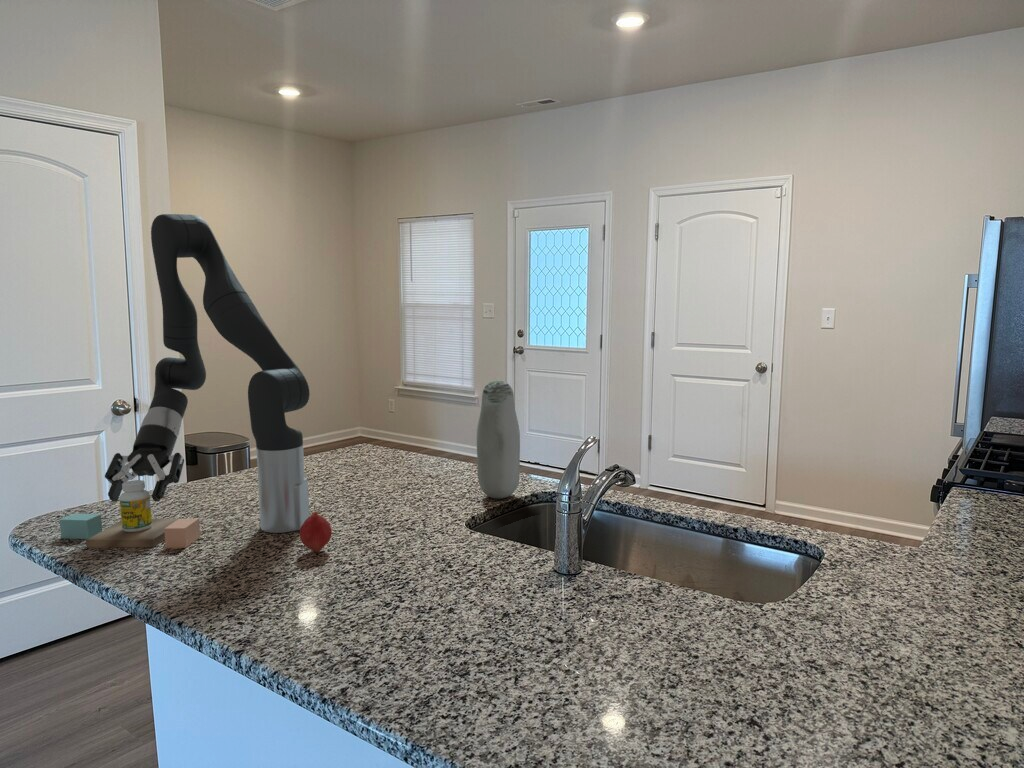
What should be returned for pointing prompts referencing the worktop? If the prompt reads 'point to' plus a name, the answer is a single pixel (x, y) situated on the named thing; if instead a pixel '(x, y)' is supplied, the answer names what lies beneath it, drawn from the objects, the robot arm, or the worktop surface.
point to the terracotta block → (182, 533)
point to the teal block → (80, 526)
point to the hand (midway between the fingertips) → (134, 499)
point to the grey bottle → (498, 441)
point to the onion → (315, 532)
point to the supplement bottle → (135, 507)
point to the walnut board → (130, 536)
